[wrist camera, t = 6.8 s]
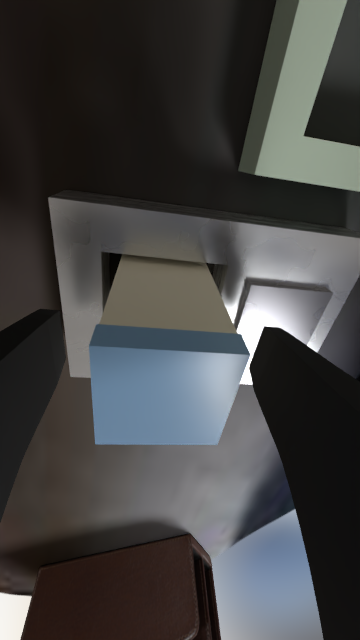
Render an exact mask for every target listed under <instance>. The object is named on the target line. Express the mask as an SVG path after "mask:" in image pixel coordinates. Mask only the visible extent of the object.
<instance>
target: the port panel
mask: <svg viewBox="0 0 360 640" xmlns="http://www.w3.org/2000/svg"><path fill="white" fill-rule="evenodd" d="M48 200H49V208H50V216H51V224H52V232H53V240H54V248H55V256H56V264H57V272H58V280H59V288H60V296H61V304H62V312H63V320H64V328H65V336H66V344H67V352H68V360H69V368H70V376H71V377H88V378H91V371H90V356H89V344H90V341H91V338H92V335H93V332H94V329H95V326H96V324H99V323H100V320H101V317H102V314H103V311H104V308H105V305H106V302H107V299H108V296H109V293H110V253H118V254H128V255H137V256H146V257H156V258H165V259H174V260H184V261H193V262H203V263H212V264H215V266H214V271H213V276H212V277H213V280H214V282H215V284H216V286H217V289H218V291H219V293H220V295H221V298H222V300H223V302H224V304H225V306H226V309H227V311H228V313H229V315H230V318H231V320H232V322H233V324H234V327H235V329H236V331H237V333H238V334H241V335H242V337H243V339H244V342H245V344H246V346H247V348H248V350H249V352H250V355H251V356H250V358H249V361H248V364H247V366H246V369H245V372H244V374H243V377H242V380H241V383H240V384H252V380H251V376H250V371H249V365H250V362H251V360H252V357H253V354H254V352H255V349H256V346H257V344H258V341H259V338H260V336H261V333H262V330H263V328H264V326H266V327H279V328H281V329H283V330H285V331H286V332H288V333H290V334H291V335H293V336H294V337H295V338H297V339H298V340H300V341H301V342H303V343H304V344H305V345H307V346H308V347H310V348H311V349H312V350H314V351H315V352H318V350H319V348H320V347H321V345H322V343H323V341H324V339H325V338H326V336H327V334H328V332H329V330H330V328H331V327H332V325H333V323H334V321H335V319H336V317H337V316H338V314H339V312H340V310H341V308H342V307H343V305H344V303H345V301H346V299H347V297H348V296H349V294H350V292H351V290H352V288H353V287H354V285H355V283H356V281H357V279H358V277H359V276H360V233H358V232H355V231H353V230H350V229H348V228H343V227H336V226H329V225H321V224H314V223H307V222H300V221H292V220H285V219H278V218H270V217H263V216H256V215H248V214H241V213H234V212H227V211H219V210H212V209H205V208H197V207H190V206H183V205H175V204H168V203H161V202H154V201H146V200H139V199H132V198H124V197H117V196H110V195H103V194H95V193H88V192H81V191H73V190H64V191H62V192H59V193H57V194H55V195H52V196H50V197H48Z"/></svg>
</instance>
